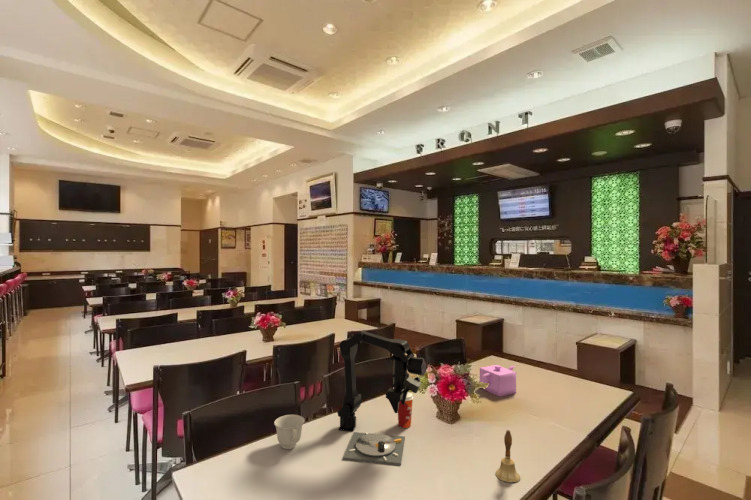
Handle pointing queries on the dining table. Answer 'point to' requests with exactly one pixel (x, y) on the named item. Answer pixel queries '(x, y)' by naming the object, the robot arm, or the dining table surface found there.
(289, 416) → the teacup
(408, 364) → the robot arm
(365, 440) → the dial
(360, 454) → the grey dial base plate
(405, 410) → the paper cup
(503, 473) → the hand bell
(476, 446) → the dining table surface
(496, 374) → the teapot
